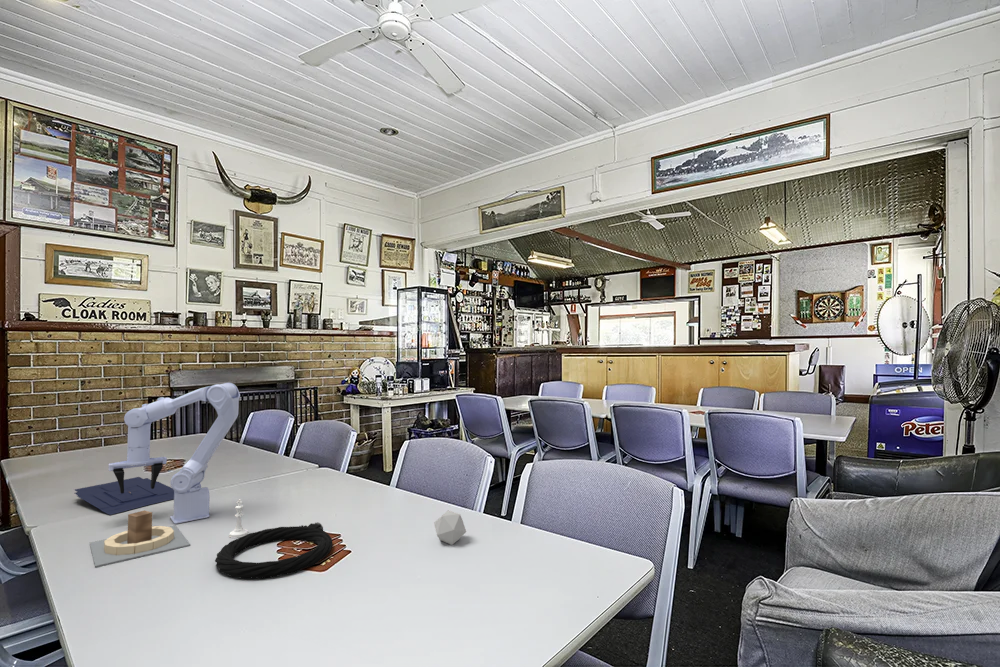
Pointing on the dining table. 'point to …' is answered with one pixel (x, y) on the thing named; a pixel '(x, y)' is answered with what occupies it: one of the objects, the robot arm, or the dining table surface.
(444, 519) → the die
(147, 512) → the wooden peg
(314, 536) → the cable lock
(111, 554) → the bead board
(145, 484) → the dark blue flat plate
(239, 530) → the chess piece
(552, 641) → the dining table surface
